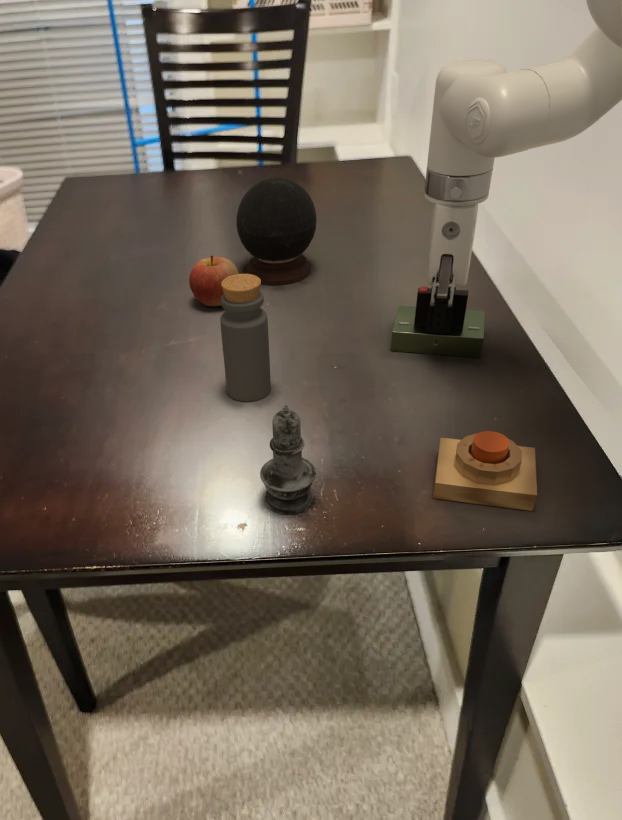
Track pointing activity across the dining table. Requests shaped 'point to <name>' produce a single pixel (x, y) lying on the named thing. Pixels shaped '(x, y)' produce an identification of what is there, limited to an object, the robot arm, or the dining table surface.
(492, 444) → the button
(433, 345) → the clamp panel
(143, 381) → the dining table surface
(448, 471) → the button block
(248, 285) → the bottle
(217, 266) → the apple
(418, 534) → the dining table surface
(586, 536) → the dining table surface
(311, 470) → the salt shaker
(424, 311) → the black block
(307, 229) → the black ball on stand
